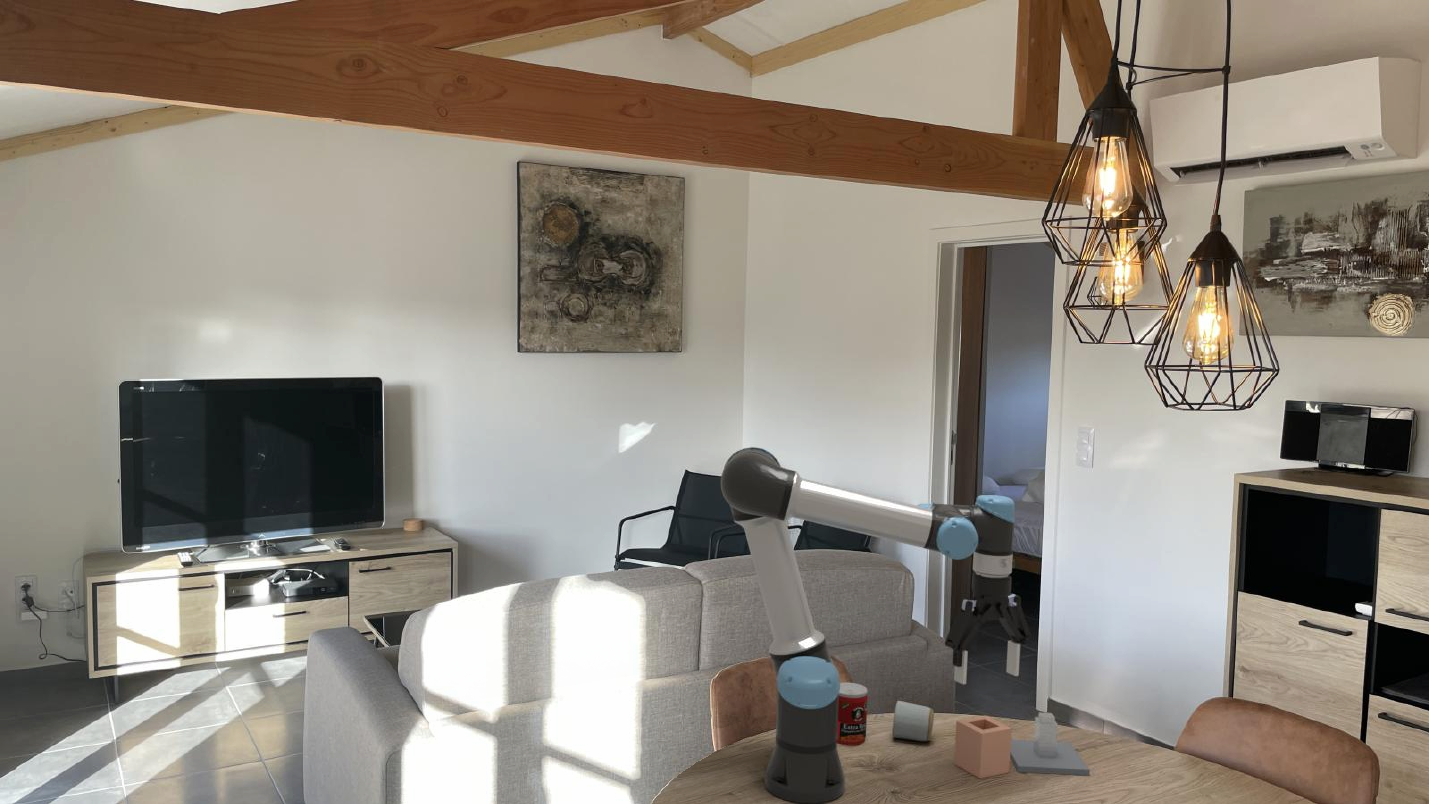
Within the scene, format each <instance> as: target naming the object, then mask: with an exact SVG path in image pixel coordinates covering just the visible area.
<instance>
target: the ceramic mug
mask: <svg viewBox="0 0 1429 804" xmlns="http://www.w3.org/2000/svg"><path fill="white" fill-rule="evenodd" d="M893 715H894V716H893V723H892V736H893V738H895V739H904V740H909V741H918V742H929V741H931V740H932V734H933V729H934V720H935V719H934V718H935V716H934V715H935V713H934V710H933V709H932V708H931V707H928V706H925V705H920V704H916V703H910V702H907V701H906V702H905V701H901V700H897V701H896V704H895V708H894V714H893Z"/></svg>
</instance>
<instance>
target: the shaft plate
mask: <svg viewBox="0 0 1429 804" xmlns="http://www.w3.org/2000/svg"><path fill="white" fill-rule="evenodd" d="M1010 761H1012V764H1013V766H1014V767H1015V769H1016V770H1017V772H1018V773H1029V774H1030V773H1033V774H1050V775H1051V774H1052V775H1068V776H1069V775H1071V776H1087V777H1089V776H1090V771H1091V770H1090V768H1089V767H1088V766H1087V764H1086V762H1084V760H1083V759H1082V758H1081V756H1080V754H1079V753H1078V752H1077V750H1076V749H1075V747H1074V746H1073V745H1072V744H1071V742H1070V741H1069V742H1068V741H1066V742H1065V741H1057V749H1056V758H1050V757H1038V756H1037V754H1036V753H1035V751H1034V739H1032V740H1031V739H1027V740H1026V739H1014V738H1013V739H1012V738H1011V751H1010Z"/></svg>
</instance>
